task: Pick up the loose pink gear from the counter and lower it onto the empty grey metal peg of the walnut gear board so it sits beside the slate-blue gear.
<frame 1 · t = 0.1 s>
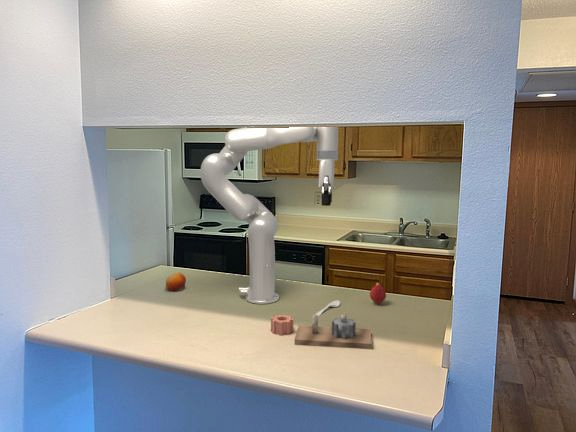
hand: (326, 204, 163), 37 cm above the countertop, tool pointing down, fingers open, 9 cm apart
pink gear: (282, 330, 141), on the countertop
spoon: (324, 312, 159), on the countertop
gear board: (333, 338, 135), on the countertop
fruit: (176, 290, 183), on the countertop
onion: (377, 304, 166), on the countertop
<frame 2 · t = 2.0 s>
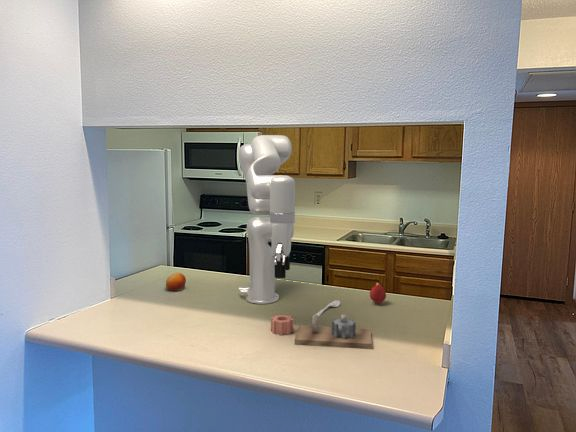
hand: (282, 273, 138), 18 cm above the countertop, tool pointing down, fingers open, 9 cm apart
nothing on the countertop moved.
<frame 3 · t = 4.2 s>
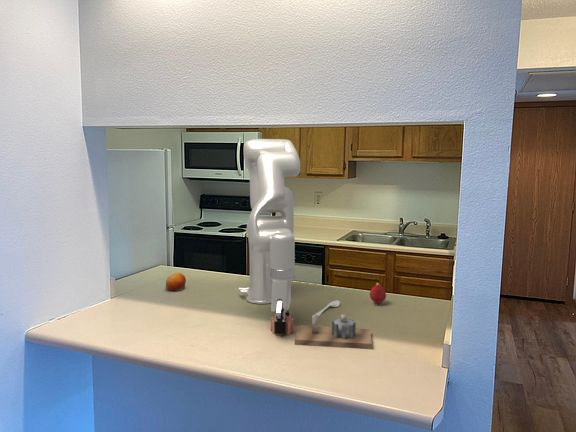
hand: (282, 328, 140), 1 cm above the countertop, tool pointing down, fingers closed on pink gear, 6 cm apart
pink gear: (282, 330, 141), on the countertop, touching gripper
everything else where it was.
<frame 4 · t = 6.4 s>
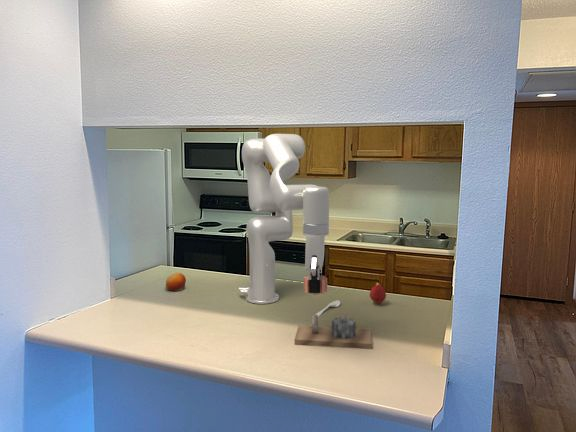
hand: (315, 288, 133), 15 cm above the countertop, tool pointing down, fingers closed on pink gear, 6 cm apart
pink gear: (315, 291, 133), point 15 cm above the countertop, touching gripper
everything else where it was.
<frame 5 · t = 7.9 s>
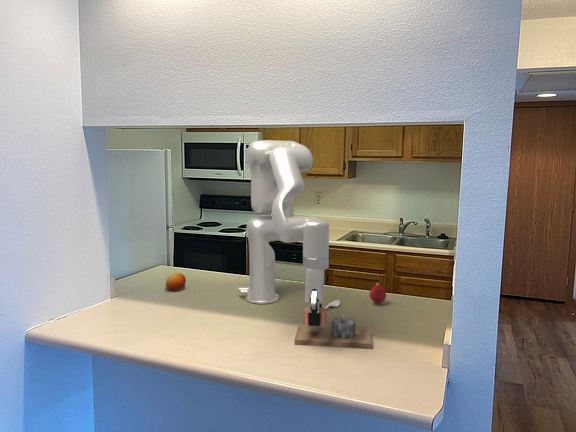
hand: (315, 320, 134), 6 cm above the countertop, tool pointing down, fingers closed on pink gear, 6 cm apart
pink gear: (315, 322, 134), point 5 cm above the countertop, touching gripper
everything else where it was.
when the fingers open (4 cm above the countertop, at t = 8.8 s): pink gear drops 1 cm, resting on gear board.
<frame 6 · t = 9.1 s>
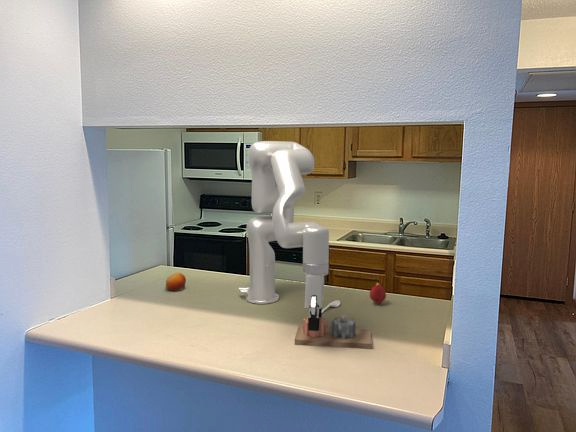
hand: (315, 324, 135), 4 cm above the countertop, tool pointing down, fingers open, 9 cm apart
pink gear: (314, 332, 135), point 1 cm above the countertop, touching gear board
everything else where it was.
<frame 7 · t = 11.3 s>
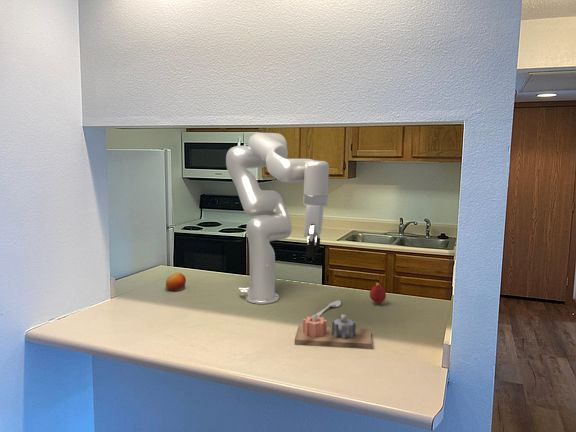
hand: (313, 253, 145), 23 cm above the countertop, tool pointing down, fingers open, 9 cm apart
nothing on the countertop moved.
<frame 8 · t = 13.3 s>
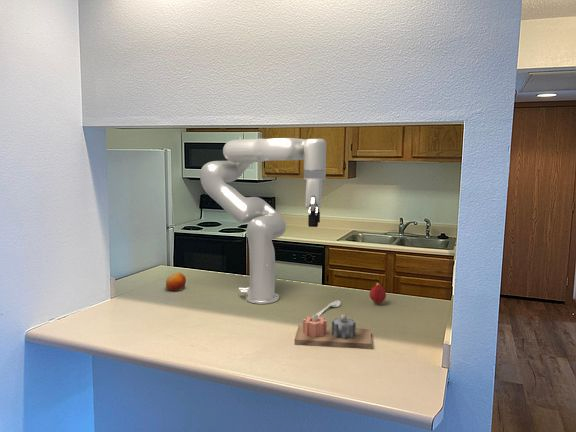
hand: (314, 224, 157), 30 cm above the countertop, tool pointing down, fingers open, 9 cm apart
nothing on the countertop moved.
at the end: pink gear 0.2 cm from the target spot on the gear board, point 1.5 cm above the gear board's base; pink gear tilted 0°; the gripper is holding nothing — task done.
